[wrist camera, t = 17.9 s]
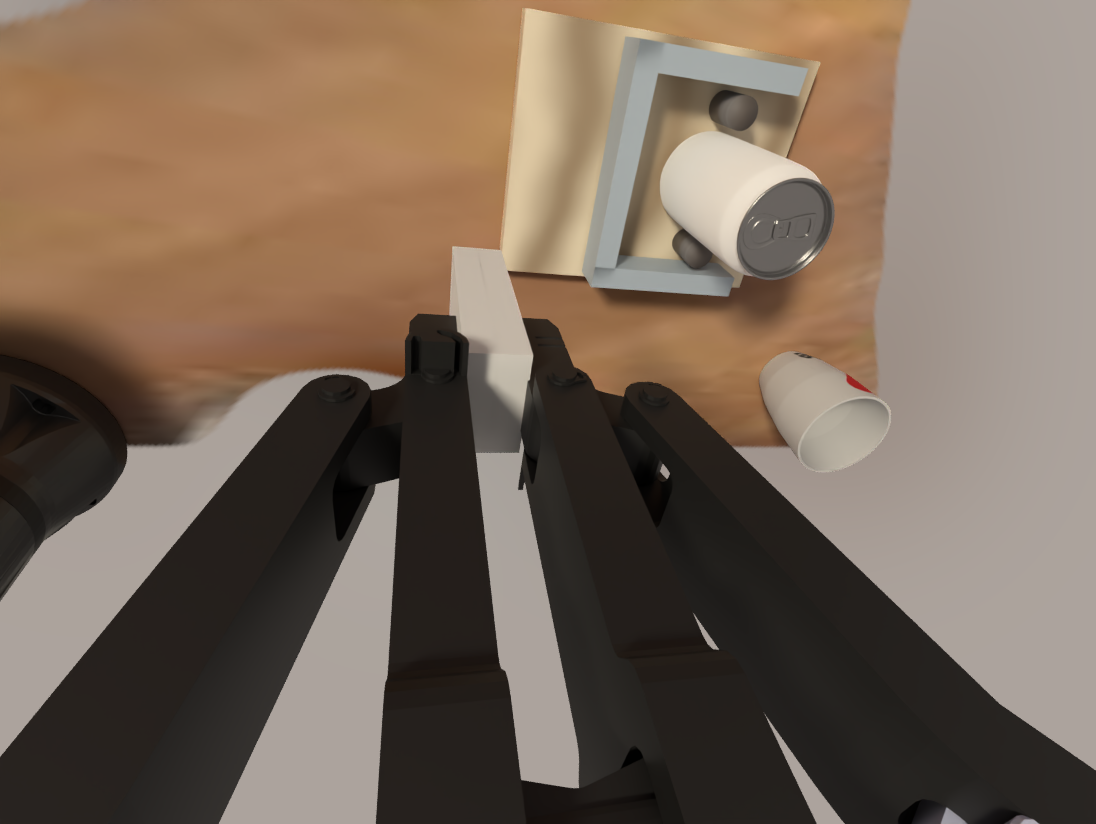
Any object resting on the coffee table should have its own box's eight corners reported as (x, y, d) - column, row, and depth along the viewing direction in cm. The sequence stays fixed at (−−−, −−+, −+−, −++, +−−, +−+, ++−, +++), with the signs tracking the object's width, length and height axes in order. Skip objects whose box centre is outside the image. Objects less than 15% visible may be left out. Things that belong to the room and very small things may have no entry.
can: (661, 133, 37) (740, 174, 28) (750, 125, 38) (857, 164, 29) (653, 228, 41) (721, 293, 32) (735, 219, 42) (825, 281, 32)
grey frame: (581, 271, 42) (591, 286, 40) (625, 36, 34) (640, 38, 31) (712, 281, 44) (728, 296, 42) (783, 64, 36) (808, 68, 34)
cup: (829, 381, 56) (896, 442, 48) (756, 420, 57) (809, 486, 49) (812, 321, 51) (884, 379, 43) (733, 365, 52) (787, 429, 44)
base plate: (498, 262, 42) (504, 286, 39) (522, 8, 33) (533, 7, 30) (731, 280, 47) (756, 303, 43) (808, 60, 38) (847, 65, 34)
